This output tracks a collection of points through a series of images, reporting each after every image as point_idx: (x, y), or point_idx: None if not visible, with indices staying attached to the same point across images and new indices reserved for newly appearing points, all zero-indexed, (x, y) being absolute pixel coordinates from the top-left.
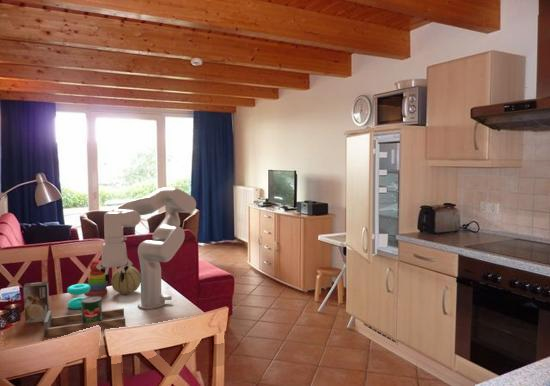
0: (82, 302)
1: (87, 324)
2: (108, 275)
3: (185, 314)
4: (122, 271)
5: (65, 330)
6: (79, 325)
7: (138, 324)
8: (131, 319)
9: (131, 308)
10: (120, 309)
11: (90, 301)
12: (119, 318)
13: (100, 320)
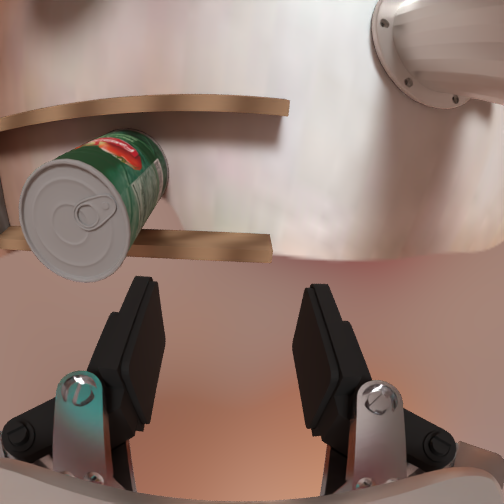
0: (35, 248)
1: None
2: (144, 422)
3: (479, 235)
4: (334, 447)
5: None
6: None
7: (319, 256)
8: (307, 185)
9: (336, 24)
10: (268, 112)
11: (72, 255)
12: (245, 252)
13: (157, 202)
